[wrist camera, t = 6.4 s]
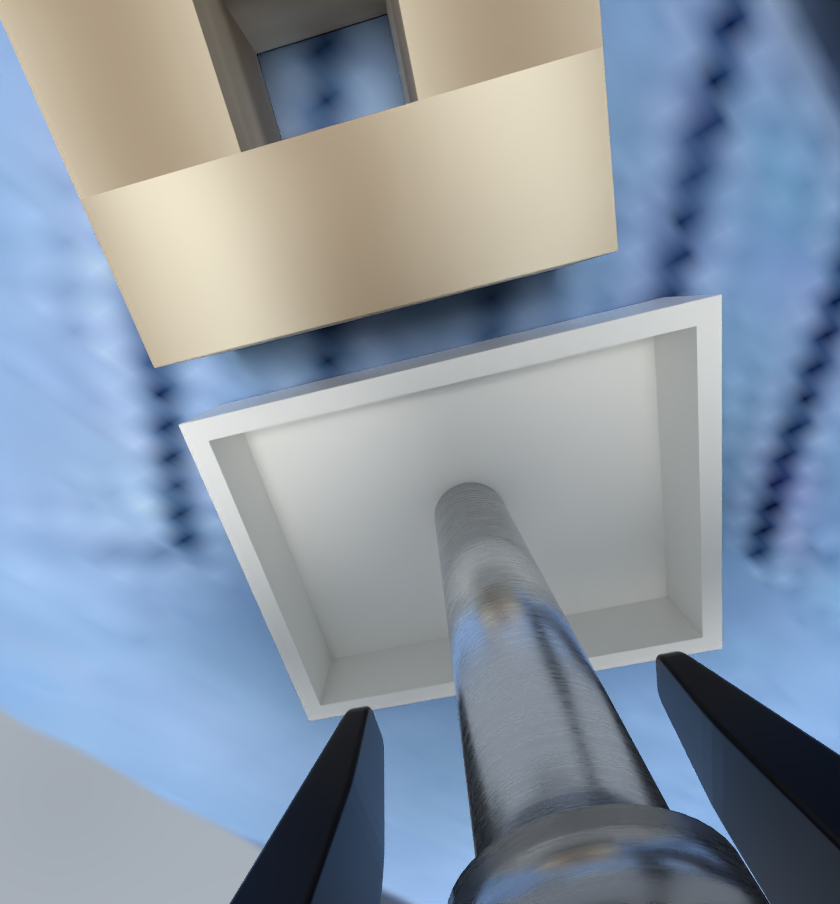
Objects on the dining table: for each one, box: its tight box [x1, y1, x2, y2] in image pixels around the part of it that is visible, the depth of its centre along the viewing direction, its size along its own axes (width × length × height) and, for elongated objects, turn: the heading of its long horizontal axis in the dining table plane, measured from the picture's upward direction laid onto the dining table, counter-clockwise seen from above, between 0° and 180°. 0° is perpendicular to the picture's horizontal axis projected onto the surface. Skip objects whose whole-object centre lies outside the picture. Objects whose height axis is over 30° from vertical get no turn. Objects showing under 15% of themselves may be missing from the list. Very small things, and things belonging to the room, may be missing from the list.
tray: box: [179, 294, 722, 721], centre depth 13 cm, size 14×11×2 cm
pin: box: [435, 482, 770, 904], centre depth 9 cm, size 3×3×11 cm
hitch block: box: [0, 0, 618, 368], centre depth 9 cm, size 10×10×4 cm
